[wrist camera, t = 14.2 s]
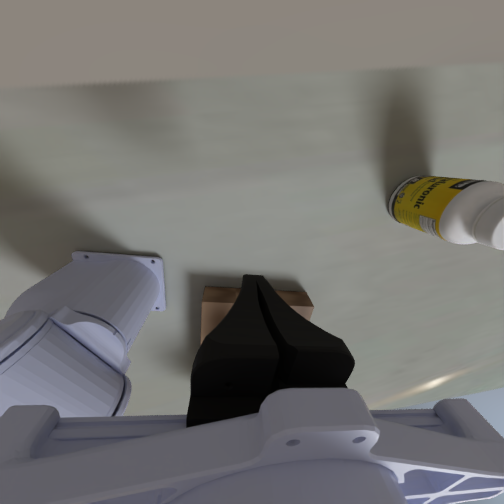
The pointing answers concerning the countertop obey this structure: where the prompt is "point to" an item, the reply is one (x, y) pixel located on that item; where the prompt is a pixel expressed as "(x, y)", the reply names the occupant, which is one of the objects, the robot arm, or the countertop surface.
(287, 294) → the walnut socket block
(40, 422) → the robot arm
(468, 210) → the supplement bottle
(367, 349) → the countertop surface
